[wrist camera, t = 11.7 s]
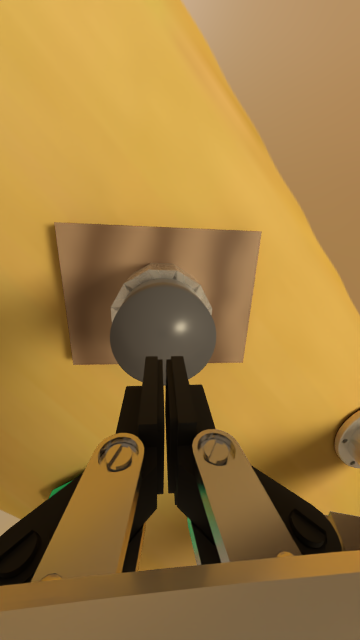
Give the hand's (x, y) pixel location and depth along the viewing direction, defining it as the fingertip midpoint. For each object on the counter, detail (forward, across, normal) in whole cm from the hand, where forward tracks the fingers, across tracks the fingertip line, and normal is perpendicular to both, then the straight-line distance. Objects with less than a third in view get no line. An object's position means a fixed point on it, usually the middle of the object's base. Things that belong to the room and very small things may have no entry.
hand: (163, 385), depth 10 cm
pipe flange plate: (+17, 0, 0) cm, 17 cm away
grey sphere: (+12, 0, 0) cm, 12 cm away
